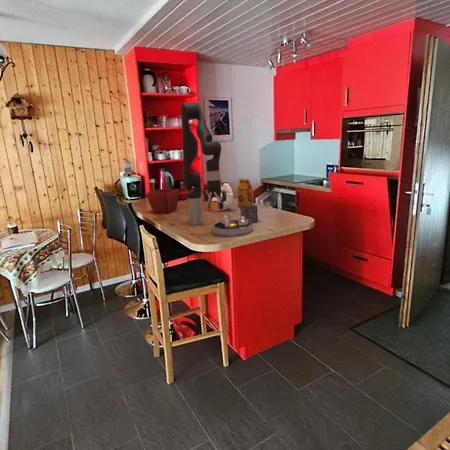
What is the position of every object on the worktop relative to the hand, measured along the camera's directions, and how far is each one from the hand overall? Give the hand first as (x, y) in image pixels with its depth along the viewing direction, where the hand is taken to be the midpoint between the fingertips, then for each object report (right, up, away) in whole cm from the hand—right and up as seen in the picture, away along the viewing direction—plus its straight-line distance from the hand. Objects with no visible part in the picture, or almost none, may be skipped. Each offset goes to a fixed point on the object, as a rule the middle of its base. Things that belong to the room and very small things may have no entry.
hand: (215, 209), depth 190 cm
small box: (+21, -7, +29) cm, 36 cm away
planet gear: (0, -1, 0) cm, 1 cm away
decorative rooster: (+2, +2, +68) cm, 68 cm away
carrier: (+9, -13, +9) cm, 18 cm away
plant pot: (-42, +1, +77) cm, 88 cm away
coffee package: (+22, +5, +77) cm, 80 cm away
